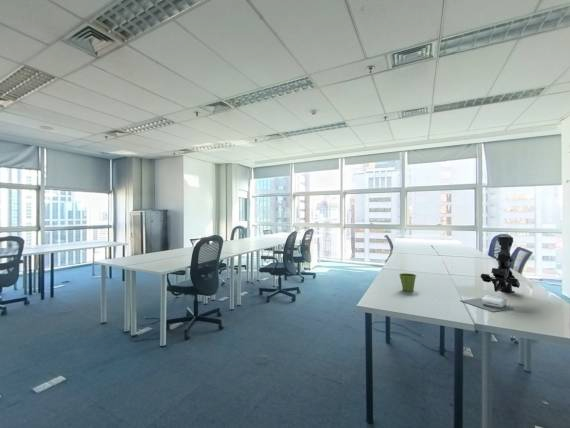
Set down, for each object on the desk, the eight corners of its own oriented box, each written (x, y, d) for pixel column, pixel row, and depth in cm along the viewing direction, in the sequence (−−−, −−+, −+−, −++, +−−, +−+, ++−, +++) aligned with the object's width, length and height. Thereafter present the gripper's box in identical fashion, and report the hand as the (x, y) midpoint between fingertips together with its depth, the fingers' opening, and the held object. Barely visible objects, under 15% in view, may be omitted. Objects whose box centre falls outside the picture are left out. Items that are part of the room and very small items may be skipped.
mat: (479, 298, 169) (479, 298, 169) (513, 308, 150) (513, 308, 150) (460, 301, 165) (460, 300, 165) (493, 312, 146) (493, 311, 146)
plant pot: (414, 288, 196) (414, 273, 196) (418, 292, 184) (418, 276, 184) (397, 287, 199) (397, 272, 199) (400, 292, 187) (400, 276, 187)
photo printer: (486, 300, 164) (480, 305, 156) (486, 293, 164) (480, 297, 156) (507, 304, 156) (502, 309, 148) (507, 297, 156) (502, 302, 148)
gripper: (481, 261, 171) (473, 280, 166) (517, 265, 155) (510, 286, 150) (487, 271, 175) (479, 290, 170) (523, 276, 159) (516, 298, 154)
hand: (495, 291), depth 161 cm, fingers closed
